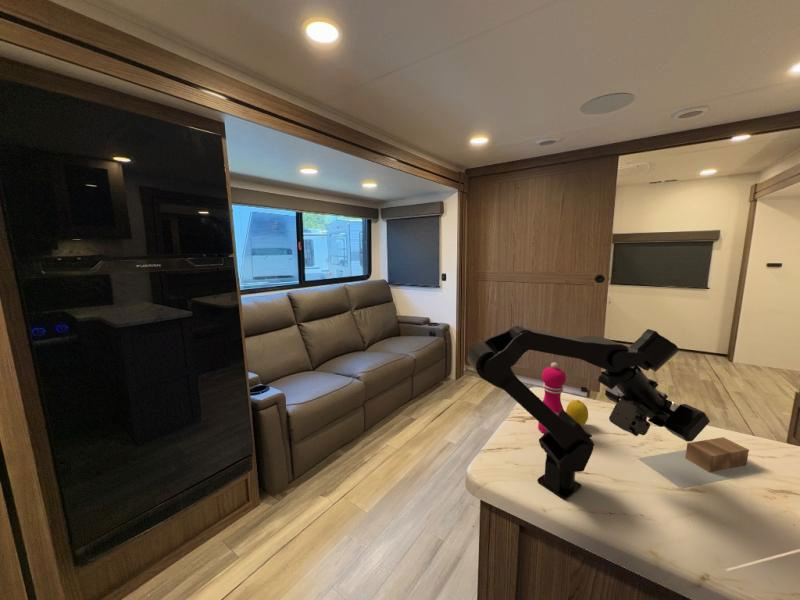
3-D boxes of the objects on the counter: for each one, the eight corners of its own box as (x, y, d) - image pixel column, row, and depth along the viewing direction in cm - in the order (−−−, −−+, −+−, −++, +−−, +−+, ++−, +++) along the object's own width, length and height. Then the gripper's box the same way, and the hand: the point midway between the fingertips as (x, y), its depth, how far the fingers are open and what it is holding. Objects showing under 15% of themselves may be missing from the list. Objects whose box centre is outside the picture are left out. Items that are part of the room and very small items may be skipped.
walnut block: (711, 456, 71) (749, 449, 73) (687, 443, 76) (723, 437, 78) (708, 472, 71) (746, 465, 74) (685, 458, 76) (720, 452, 78)
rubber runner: (680, 489, 67) (681, 488, 67) (637, 459, 77) (637, 458, 77) (762, 473, 71) (763, 471, 71) (711, 446, 81) (711, 445, 81)
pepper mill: (561, 441, 84) (566, 369, 81) (533, 431, 89) (537, 363, 85) (566, 428, 90) (572, 361, 87) (539, 420, 94) (543, 356, 91)
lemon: (567, 419, 95) (569, 394, 94) (588, 425, 92) (590, 399, 90) (563, 427, 91) (564, 401, 90) (585, 434, 87) (587, 406, 86)
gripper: (574, 392, 75) (609, 430, 79) (650, 437, 57) (690, 483, 61) (606, 358, 76) (639, 397, 79) (691, 392, 57) (728, 441, 61)
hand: (668, 427), depth 70 cm, fingers closed
